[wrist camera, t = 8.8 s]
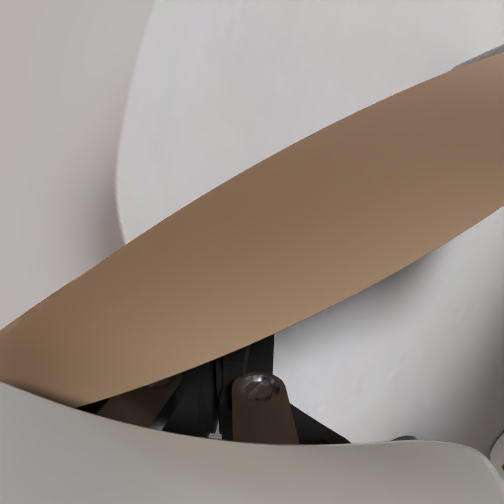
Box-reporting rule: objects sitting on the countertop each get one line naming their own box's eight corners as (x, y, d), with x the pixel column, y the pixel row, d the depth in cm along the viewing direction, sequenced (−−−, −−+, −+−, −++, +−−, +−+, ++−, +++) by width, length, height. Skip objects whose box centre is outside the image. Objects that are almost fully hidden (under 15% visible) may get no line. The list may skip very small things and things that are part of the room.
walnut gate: (469, 121, 11) (629, 109, 2) (123, 306, 15) (8, 430, 6) (446, 75, 11) (594, 19, 2) (98, 266, 14) (-41, 366, 5)
